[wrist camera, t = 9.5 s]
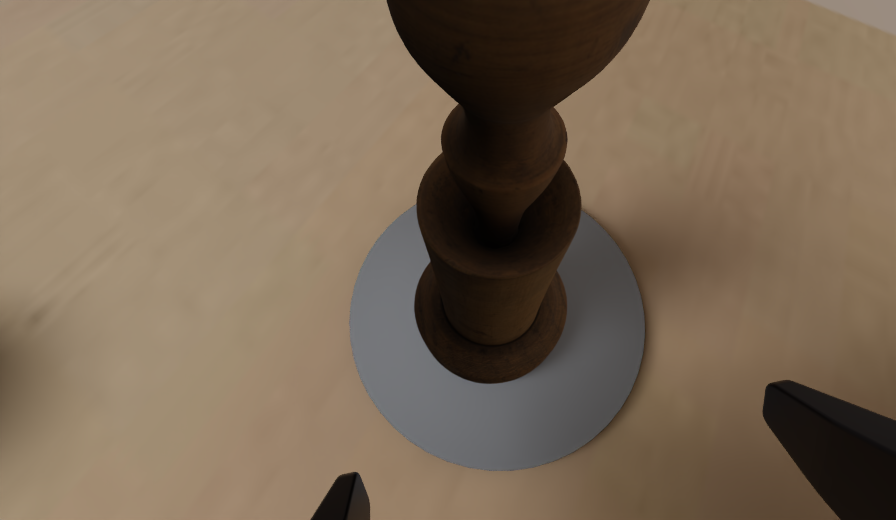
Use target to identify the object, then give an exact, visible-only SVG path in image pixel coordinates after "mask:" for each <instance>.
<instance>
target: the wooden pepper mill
mask: <svg viewBox="0 0 896 520" xmlns="http://www.w3.org/2000/svg"><path fill="white" fill-rule="evenodd" d="M649 1H650V0H387V4H388V7H389V11H390V14H391V17H392V20H393V22H394V25H395V27H396V30H397V32H398V34H399V36H400V38H401V39H402V41H403V43H404V45H405V47H406V48H407V50H408V51H409V53H410V54H411V56H412V57H413V58H414V60H415V61H416V62H417V64H418V65H419V66H420V67H421V68H422V69H423V70H424V72H425V73H426V74H427V75H428V76H429V77H430V78H431V79H432V80H433V81H434V82H435V83H437V84H438V85H439V86H440V87H441V88H442V89H443V90H444V91H445V92H446V93H447V94H448V95H450V96H451V97H452V98H453V99H454V100H455V101H456V102H458V103H459V104H458V105H457V106H456V107H455V108H454V109H453V110H452V111H451V113H450V114H449V116H448V117H447V119H446V121H445V123H444V126H443V129H442V134H441V145H442V150H443V152H442V153H441V154H440V155H439V156H438V157H437V158H436V159H435V160H434V162H433V163H432V164H431V165H430V167H429V168H428V170H427V171H426V173H425V174H424V176H423V179H422V181H421V184H420V187H419V190H418V195H417V219H418V224H419V228H420V231H421V234H422V237H423V240H424V243H425V246H426V249H427V252H428V255H429V258H430V263H429V264H428V265H427V267H426V268H425V270H424V271H423V273H422V275H421V277H420V280H419V282H418V285H417V288H416V293H415V300H414V312H415V319H416V323H417V327H418V330H419V332H420V335H421V337H422V339H423V341H424V343H425V344H426V346H427V348H428V349H429V351H430V352H431V354H432V355H433V356H434V358H435V359H436V360H437V361H438V362H439V363H440V364H441V365H442V366H443V367H444V368H446V369H447V370H448V371H450V372H451V373H453V374H455V375H456V376H458V377H461V378H463V379H465V380H468V381H472V382H476V383H482V384H497V383H504V382H509V381H512V380H515V379H518V378H520V377H522V376H524V375H526V374H528V373H529V372H531V371H532V370H534V369H535V368H536V367H537V366H539V365H540V364H541V363H542V362H543V361H544V360H545V359H546V357H547V356H548V355H549V354H550V352H551V351H552V350H553V349H554V347H555V346H556V344H557V342H558V341H559V339H560V337H561V334H562V332H563V329H564V326H565V322H566V317H567V296H566V291H565V287H564V284H563V282H562V279H561V277H560V275H559V273H558V271H557V269H558V267H559V265H560V263H561V261H562V259H563V257H564V256H565V254H566V252H567V250H568V248H569V246H570V244H571V242H572V240H573V238H574V236H575V234H576V232H577V229H578V226H579V222H580V217H581V196H580V190H579V187H578V184H577V181H576V179H575V177H574V175H573V173H572V171H571V169H570V167H569V166H568V164H567V163H566V162H565V161H564V157H565V153H566V148H567V132H566V128H565V125H564V122H563V120H562V118H561V116H560V115H559V113H558V112H557V111H556V110H555V108H554V106H555V105H557V104H558V103H560V102H561V101H562V100H564V99H565V98H567V97H568V96H569V95H571V94H572V93H573V92H575V91H576V90H578V89H579V88H581V87H582V86H584V85H585V84H586V83H587V82H589V81H590V80H591V79H593V78H594V77H595V76H596V75H597V74H599V73H600V72H601V71H602V70H603V69H604V68H605V67H606V66H607V65H608V64H609V63H610V62H611V61H612V59H613V58H614V57H615V56H616V55H617V54H618V53H619V52H620V50H621V49H622V48H623V47H624V45H625V44H626V42H627V41H628V40H629V38H630V37H631V35H632V33H633V32H634V30H635V28H636V27H637V25H638V23H639V21H640V20H641V18H642V16H643V14H644V12H645V10H646V8H647V5H648V3H649Z"/></svg>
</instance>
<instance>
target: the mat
mask: <svg viewBox="0 0 896 520" xmlns="http://www.w3.org/2000/svg"><path fill="white" fill-rule="evenodd" d="M429 263H430V258H429V255H428V252H427V249H426V246H425V243H424V240H423V237H422V234H421V231H420V228H419V224H418V219H417V204H416V205H414V206H413V207H411V208H410V209H409V210H407V211H406V212H404V213H403V214H402V215H400V216H399V217H398V218H397V219H396V220H395V221H394V222H393V223H392V224H391V225H390V226H388V228H387V229H386V230H385V231H384V232H383V234H382V235H381V236H380V237H379V238H378V239H377V241H376V242H375V244H374V245H373V247H372V248H371V250H370V252H369V253H368V255H367V257H366V259H365V261H364V263H363V265H362V267H361V269H360V272H359V275H358V277H357V280H356V283H355V286H354V291H353V296H352V301H351V308H350V322H349V323H350V340H351V346H352V351H353V356H354V361H355V364H356V367H357V370H358V373H359V376H360V378H361V380H362V382H363V384H364V386H365V388H366V391H367V393H368V395H369V396H370V398H371V399H372V401H373V402H374V404H375V405H376V407H377V408H378V410H379V411H380V413H381V414H382V415H383V416H384V417H385V418H386V419H387V420H388V422H389V423H390V424H391V425H392V426H393V427H394V428H395V429H396V430H397V431H398V432H400V433H401V434H402V435H403V436H404V437H406V438H407V439H408V440H409V441H410V442H412V443H414V444H415V445H417V446H418V447H420V448H421V449H423V450H425V451H426V452H428V453H430V454H432V455H434V456H436V457H439V458H441V459H443V460H445V461H447V462H451V463H454V464H458V465H461V466H465V467H468V468H475V469H482V470H489V471H513V470H519V469H526V468H533V467H536V466H540V465H543V464H546V463H550V462H553V461H555V460H558V459H560V458H562V457H564V456H566V455H568V454H570V453H572V452H574V451H576V450H577V449H579V448H580V447H582V446H583V445H585V444H586V443H588V442H589V441H591V440H592V439H593V438H594V437H595V436H596V435H597V434H598V433H600V432H601V431H602V430H603V429H604V428H605V427H606V426H607V425H608V424H609V423H610V421H611V420H612V419H613V418H614V416H615V415H616V414H617V413H618V412H619V410H620V409H621V407H622V406H623V404H624V402H625V400H626V399H627V397H628V395H629V394H630V392H631V390H632V387H633V385H634V382H635V380H636V377H637V375H638V372H639V368H640V364H641V360H642V356H643V349H644V339H645V322H644V310H643V305H642V299H641V294H640V291H639V288H638V285H637V282H636V279H635V276H634V274H633V272H632V270H631V268H630V266H629V263H628V261H627V259H626V258H625V256H624V255H623V253H622V252H621V250H620V248H619V247H618V245H617V244H616V243H615V242H614V240H613V239H612V238H611V237H610V236H609V234H608V233H607V232H606V231H605V230H604V229H603V228H602V227H601V226H600V225H599V224H598V223H597V222H596V221H595V220H594V219H593V218H592V217H590V216H589V215H587V214H586V213H585V212H583V211H582V210H581V217H580V222H579V226H578V229H577V232H576V234H575V236H574V238H573V240H572V242H571V244H570V246H569V248H568V250H567V252H566V254H565V256H564V257H563V259H562V261H561V263H560V265H559V267H558V269H557V271H558V273H559V275H560V277H561V279H562V282H563V284H564V287H565V291H566V296H567V317H566V322H565V326H564V329H563V332H562V334H561V337H560V339H559V341H558V342H557V344H556V346H555V347H554V349H553V350H552V351H551V352H550V354H549V355H548V356H547V357H546V359H545V360H544V361H543V362H542V363H541V364H540V365H539V366H537V367H536V368H535V369H534V370H532V371H531V372H529V373H528V374H526V375H524V376H522V377H520V378H518V379H515V380H512V381H509V382H504V383H497V384H482V383H476V382H472V381H468V380H465V379H463V378H461V377H458V376H456V375H455V374H453V373H451V372H450V371H448V370H447V369H446V368H444V367H443V366H442V365H441V364H440V363H439V362H438V361H437V360H436V359H435V358H434V356H433V355H432V354H431V352H430V351H429V349H428V348H427V346H426V344H425V343H424V341H423V339H422V337H421V335H420V332H419V330H418V327H417V323H416V319H415V312H414V300H415V293H416V288H417V285H418V282H419V280H420V277H421V275H422V273H423V271H424V270H425V268H426V267H427V265H428V264H429Z"/></svg>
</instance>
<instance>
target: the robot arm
mask: <svg viewBox="0 0 896 520" xmlns="http://www.w3.org/2000/svg"><path fill="white" fill-rule="evenodd" d="M763 417H764V419H765V421H766V423H767V425H768V426H769V428H770V429H771V430H772V432H773V433H774V434H775V436H776V437H777V438H778V440H779V441H780V443H781V444H782V445H783V447H784V448H785V449H786V451H787V452H788V454H789V455H790V456H791V458H792V459H793V460H794V462H795V463H796V465H797V466H798V467H799V469H800V470H801V471H802V473H803V474H804V475H805V477H806V478H807V480H808V481H809V482H810V483H811V485H812V486H813V487H814V489H815V490H816V491H817V492H818V494H819V495H820V496H821V497H822V498H823V500H824V501H825V502H826V503H827V504H828V506H829V507H830V508H831V509H832V510H833V511H834V512H835V514H836V515H837V516H838V517H839V518H840V519H841V520H896V421H895V420H893V419H890V418H888V417H885V416H882V415H880V414H877V413H874V412H872V411H869V410H867V409H864V408H861V407H859V406H856V405H854V404H851V403H848V402H846V401H843V400H841V399H838V398H835V397H833V396H830V395H827V394H825V393H822V392H820V391H817V390H814V389H812V388H809V387H807V386H804V385H801V384H799V383H796V382H793V381H790V380H782V381H778V382H773V383H770V384H768V385H767V386H766V389H765V397H764V404H763ZM311 520H370V503H369V498H368V495H367V492H366V490H365V487H364V484H363V482H362V479H361V477H360V475H359V473H357V472H352V473H347V474H342V475H340V476H339V477H338V478H337V479H336V480H335V482H334V484H333V485H332V487H331V488H330V490H329V491H328V493H327V495H326V496H325V498H324V499H323V501H322V502H321V504H320V506H319V507H318V509H317V510H316V512H315V513H314V515H313V517H312V518H311Z"/></svg>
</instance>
